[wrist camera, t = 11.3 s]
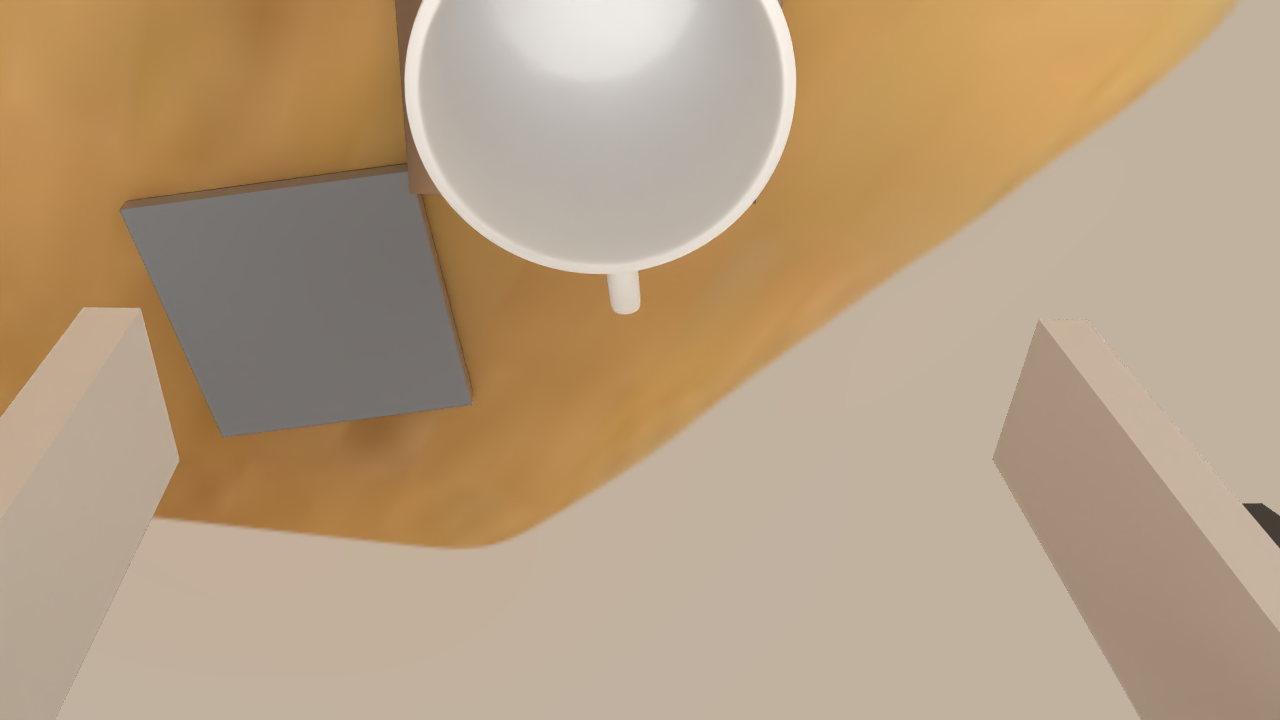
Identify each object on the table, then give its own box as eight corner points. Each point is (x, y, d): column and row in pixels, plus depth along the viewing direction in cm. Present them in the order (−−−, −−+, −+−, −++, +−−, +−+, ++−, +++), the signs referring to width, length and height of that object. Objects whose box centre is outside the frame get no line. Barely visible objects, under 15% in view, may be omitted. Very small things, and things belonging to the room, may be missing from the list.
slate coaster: (227, 426, 40) (222, 437, 40) (127, 201, 34) (119, 209, 34) (473, 394, 40) (471, 404, 39) (412, 163, 34) (410, 171, 34)
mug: (716, 193, 35) (777, 395, 25) (470, 197, 34) (432, 405, 24) (738, -192, 28) (833, -125, 18) (434, -193, 28) (360, -126, 18)
